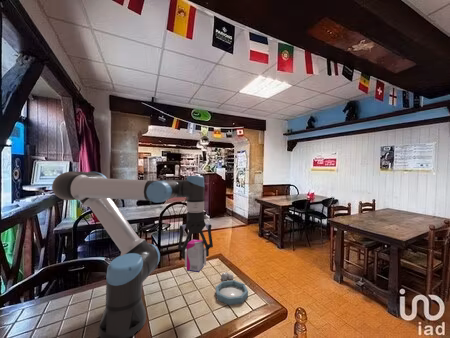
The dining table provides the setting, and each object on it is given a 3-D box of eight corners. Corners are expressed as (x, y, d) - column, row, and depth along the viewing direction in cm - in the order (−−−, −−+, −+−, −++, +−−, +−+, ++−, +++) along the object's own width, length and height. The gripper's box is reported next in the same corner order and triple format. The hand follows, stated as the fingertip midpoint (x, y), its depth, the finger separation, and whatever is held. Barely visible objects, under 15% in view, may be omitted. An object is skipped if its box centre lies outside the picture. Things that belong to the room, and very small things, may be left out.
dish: (219, 306, 82) (219, 300, 82) (214, 287, 95) (214, 282, 95) (250, 302, 84) (250, 296, 84) (241, 284, 98) (241, 279, 98)
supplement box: (204, 266, 85) (204, 240, 86) (198, 272, 80) (198, 244, 80) (192, 264, 87) (192, 238, 87) (186, 271, 81) (186, 243, 82)
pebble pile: (224, 283, 100) (224, 276, 100) (219, 278, 105) (219, 271, 105) (234, 280, 103) (234, 273, 103) (229, 275, 108) (229, 269, 108)
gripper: (170, 213, 79) (170, 271, 78) (220, 211, 82) (220, 266, 81) (172, 210, 86) (171, 262, 85) (217, 208, 90) (217, 259, 89)
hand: (195, 264), depth 83 cm, fingers closed on supplement box, 7 cm apart
